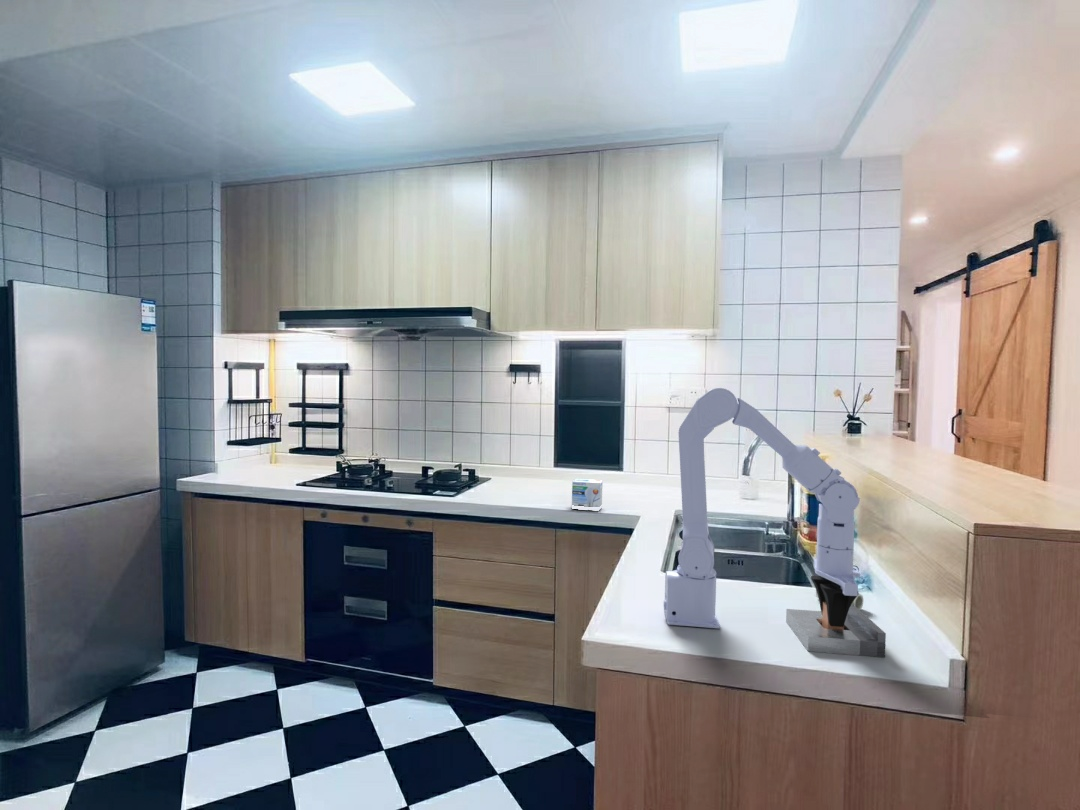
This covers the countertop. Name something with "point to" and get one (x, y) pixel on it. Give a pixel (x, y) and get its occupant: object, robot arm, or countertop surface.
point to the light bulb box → (587, 493)
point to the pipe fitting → (855, 601)
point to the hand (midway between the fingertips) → (832, 622)
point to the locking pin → (825, 619)
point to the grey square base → (838, 633)
